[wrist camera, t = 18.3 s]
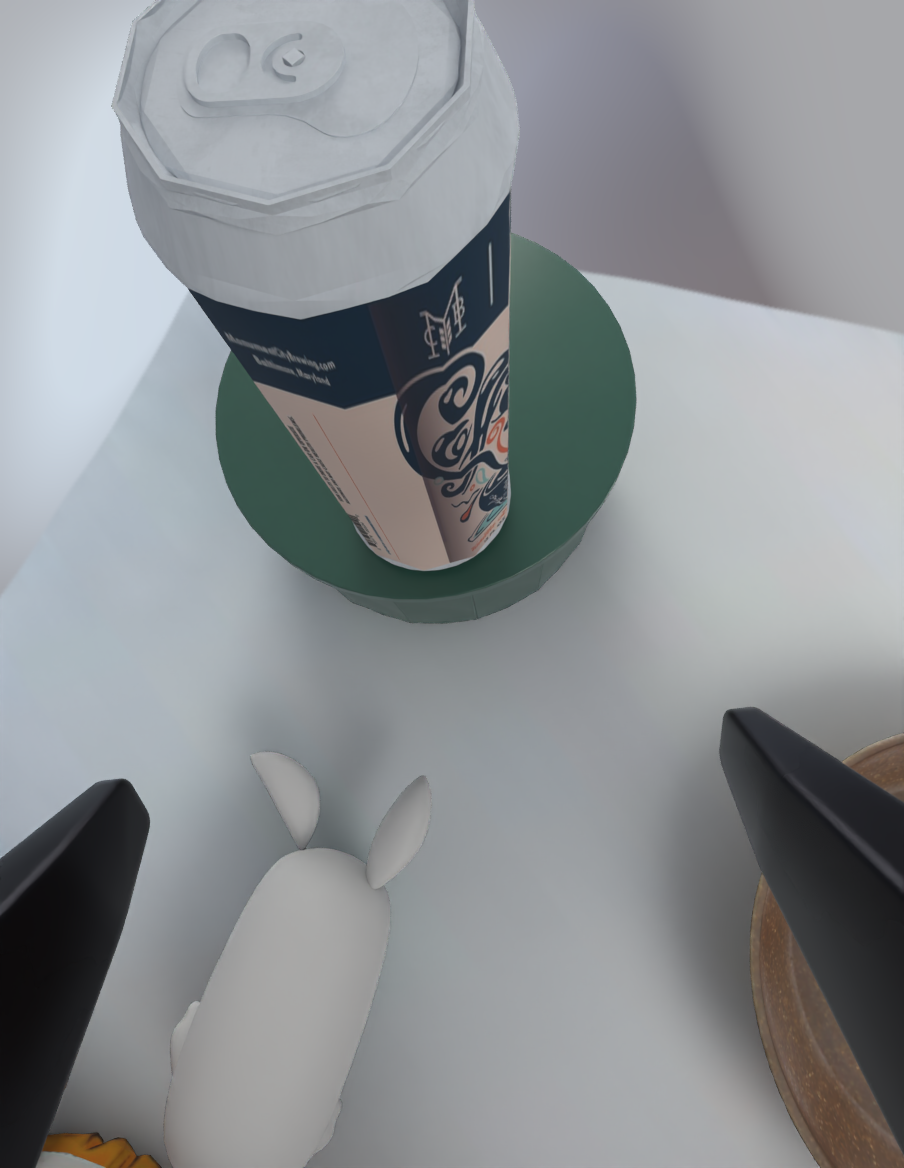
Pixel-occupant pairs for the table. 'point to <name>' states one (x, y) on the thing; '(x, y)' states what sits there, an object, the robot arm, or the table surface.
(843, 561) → the table surface
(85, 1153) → the mug
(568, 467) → the lid
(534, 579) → the dark green flat cylinder
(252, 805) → the table surface
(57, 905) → the robot arm
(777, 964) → the saucer
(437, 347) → the beer can
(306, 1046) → the rabbit figurine
